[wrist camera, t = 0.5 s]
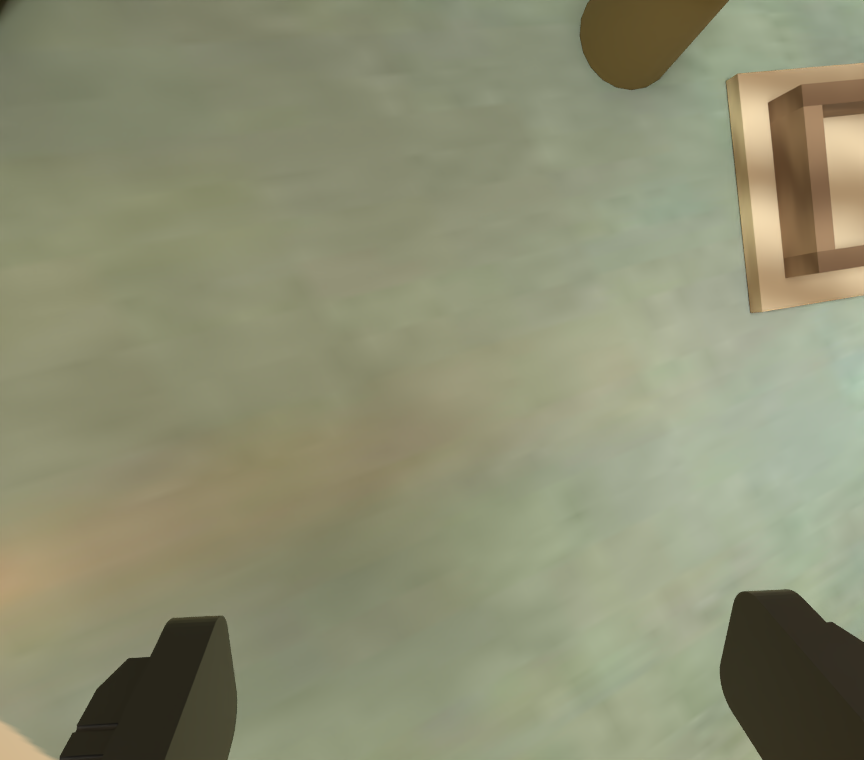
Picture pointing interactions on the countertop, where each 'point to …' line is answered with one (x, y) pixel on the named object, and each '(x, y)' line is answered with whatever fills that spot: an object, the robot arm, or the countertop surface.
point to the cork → (641, 36)
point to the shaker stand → (800, 182)
